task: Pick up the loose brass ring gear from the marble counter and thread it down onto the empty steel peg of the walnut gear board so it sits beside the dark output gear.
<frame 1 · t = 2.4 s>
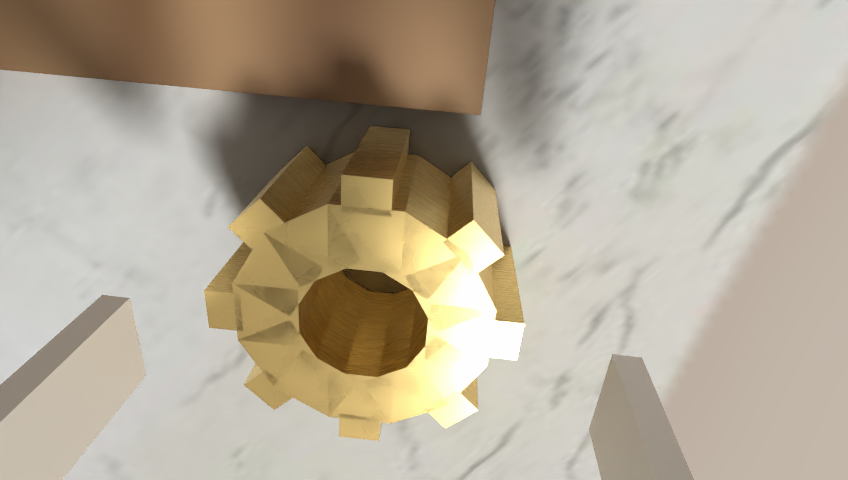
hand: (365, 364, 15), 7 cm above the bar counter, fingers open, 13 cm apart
brass gear: (384, 249, 21), on the bar counter
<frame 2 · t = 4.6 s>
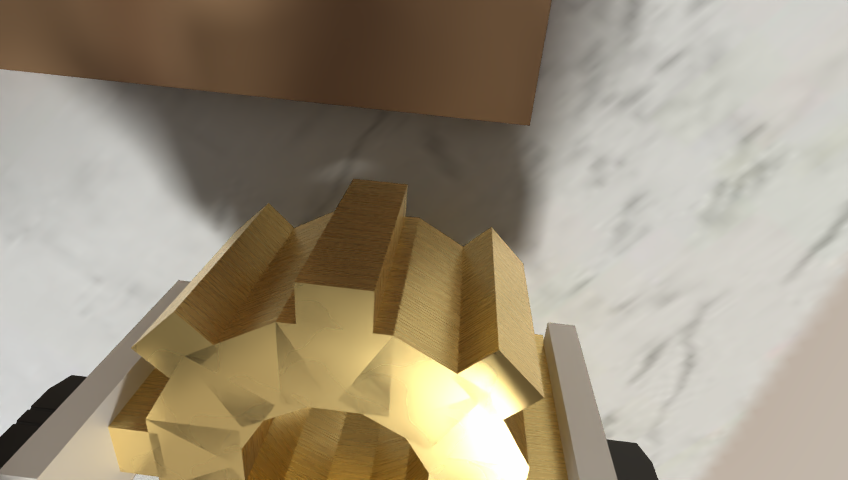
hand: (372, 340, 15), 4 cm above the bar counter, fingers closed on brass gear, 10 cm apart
brass gear: (374, 334, 16), point 3 cm above the bar counter, touching gripper
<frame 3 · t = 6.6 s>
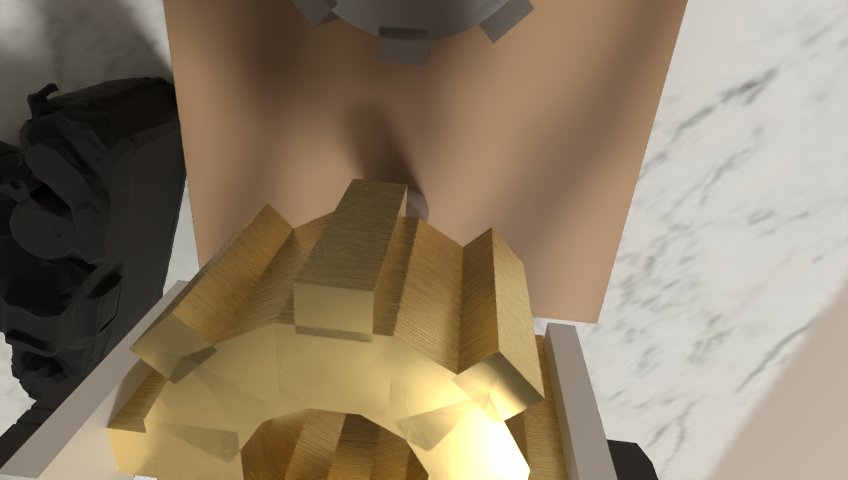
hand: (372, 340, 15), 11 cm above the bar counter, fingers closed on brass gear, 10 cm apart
film camera: (98, 192, 27), on the bar counter
gear board: (414, 70, 23), on the bar counter
brass gear: (373, 335, 16), point 11 cm above the bar counter, touching gripper
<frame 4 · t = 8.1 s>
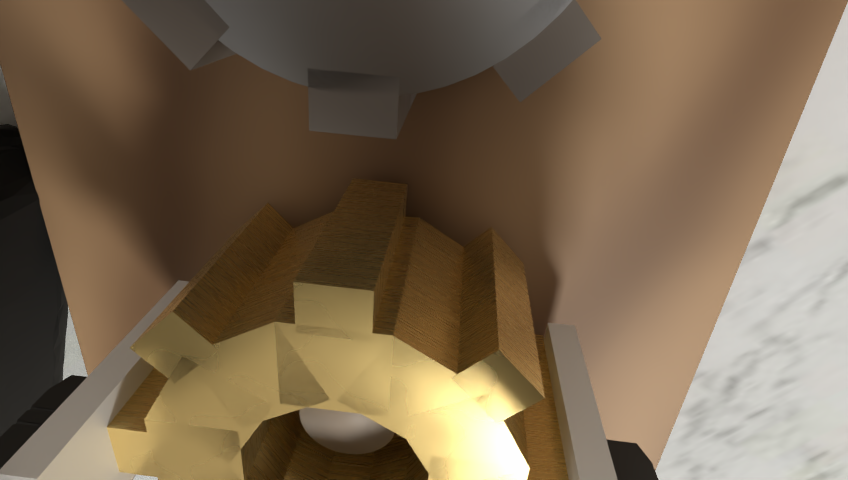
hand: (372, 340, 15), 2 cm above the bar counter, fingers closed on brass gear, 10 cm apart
gear board: (391, 118, 15), on the bar counter
brass gear: (373, 334, 16), point 2 cm above the bar counter, touching gripper
when the fingers open (2 cm above the bar counter, at t = 8.8 s): brass gear stays where it is, resting on gear board.
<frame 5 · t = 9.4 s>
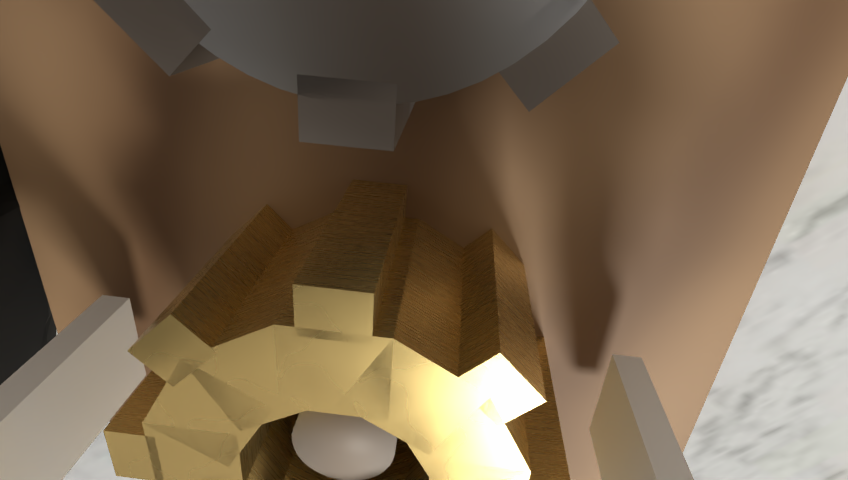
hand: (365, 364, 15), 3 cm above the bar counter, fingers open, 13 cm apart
gear board: (389, 124, 14), on the bar counter
brass gear: (373, 336, 16), point 1 cm above the bar counter, touching gear board
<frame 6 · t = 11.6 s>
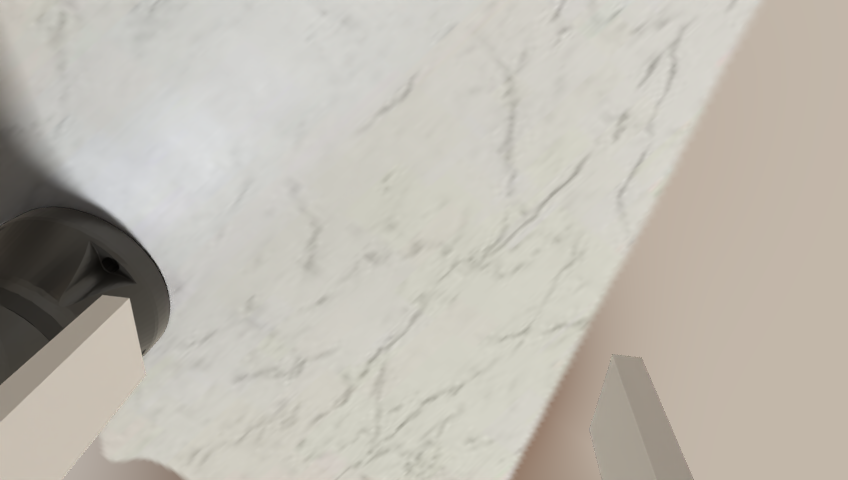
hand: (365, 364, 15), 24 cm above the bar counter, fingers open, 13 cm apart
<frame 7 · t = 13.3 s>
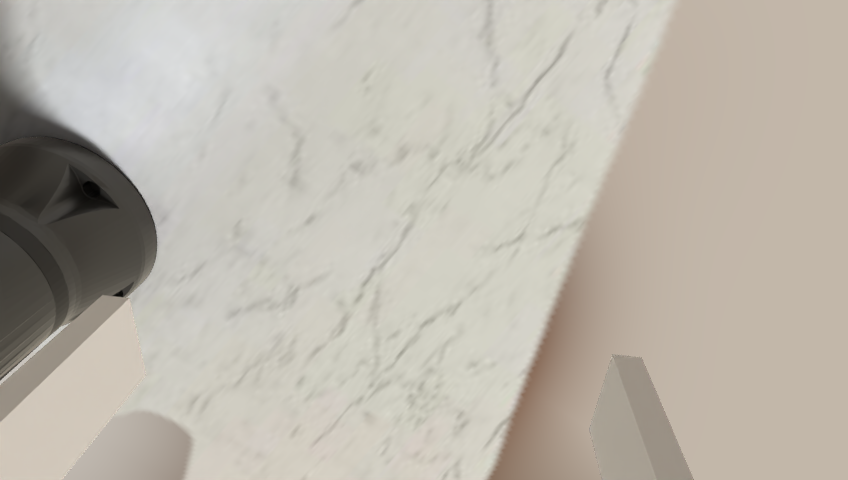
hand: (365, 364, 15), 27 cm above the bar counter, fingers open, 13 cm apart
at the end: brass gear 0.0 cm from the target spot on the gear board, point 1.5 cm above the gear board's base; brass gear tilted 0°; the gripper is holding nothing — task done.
